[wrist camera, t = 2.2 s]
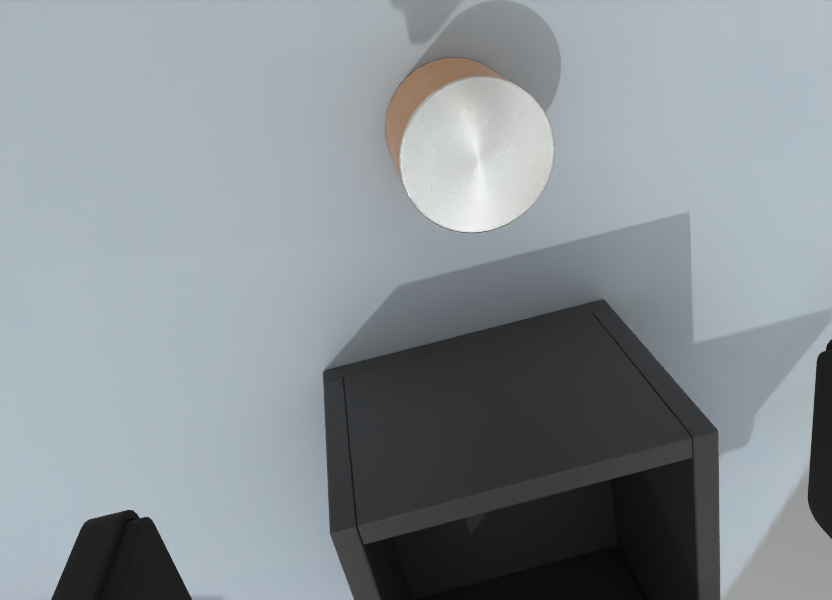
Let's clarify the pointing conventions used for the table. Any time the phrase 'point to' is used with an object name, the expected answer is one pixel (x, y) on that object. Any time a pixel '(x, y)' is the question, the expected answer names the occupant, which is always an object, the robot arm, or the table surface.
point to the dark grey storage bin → (523, 469)
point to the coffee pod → (468, 145)
